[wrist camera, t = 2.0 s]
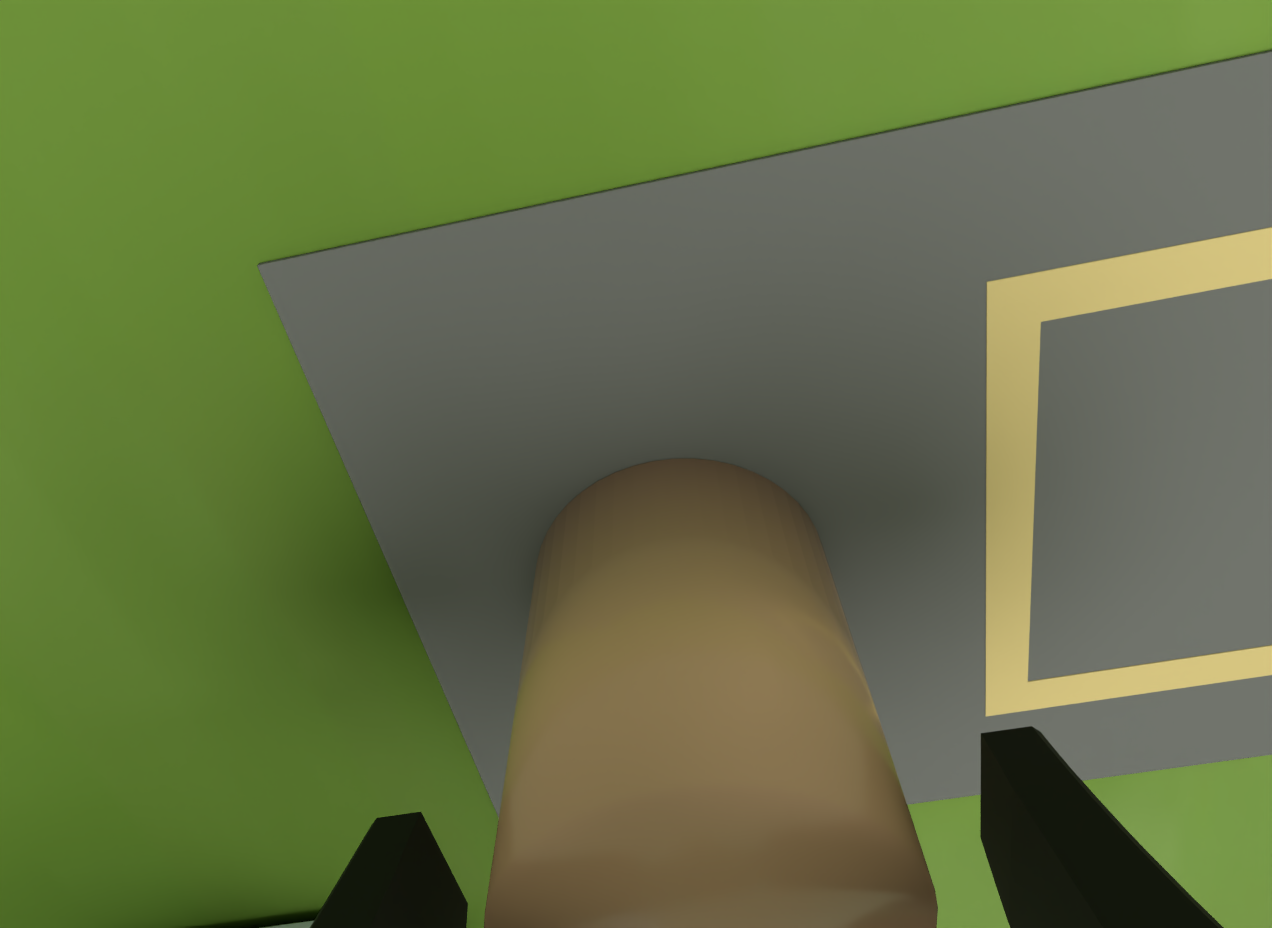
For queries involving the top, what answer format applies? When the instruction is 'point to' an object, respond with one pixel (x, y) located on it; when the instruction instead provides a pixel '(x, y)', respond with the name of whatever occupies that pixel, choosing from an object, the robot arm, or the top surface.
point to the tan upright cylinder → (697, 724)
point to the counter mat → (867, 409)
